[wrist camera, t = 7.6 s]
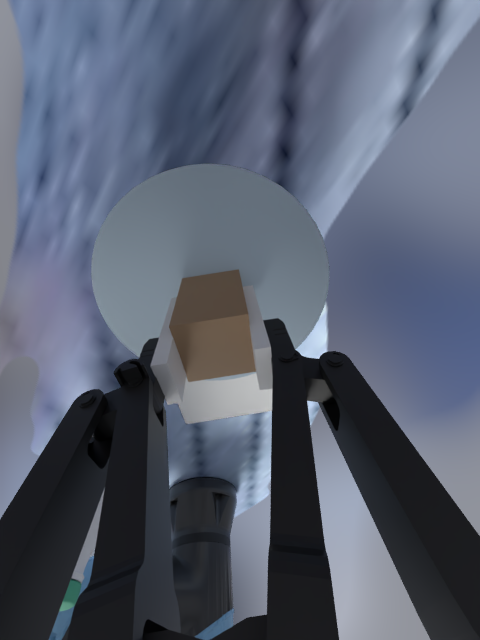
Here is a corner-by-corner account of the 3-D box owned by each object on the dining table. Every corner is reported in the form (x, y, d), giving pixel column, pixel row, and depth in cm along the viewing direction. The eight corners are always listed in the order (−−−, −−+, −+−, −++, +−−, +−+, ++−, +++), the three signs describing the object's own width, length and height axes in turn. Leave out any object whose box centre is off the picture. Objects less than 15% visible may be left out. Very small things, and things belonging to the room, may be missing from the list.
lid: (319, 357, 24) (353, 421, 18) (144, 385, 24) (121, 458, 18) (331, 142, 15) (408, 130, 9) (46, 187, 15) (-64, 206, 9)
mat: (292, 404, 42) (293, 407, 41) (186, 421, 42) (186, 424, 41) (290, 313, 32) (291, 316, 32) (151, 335, 32) (150, 338, 32)
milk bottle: (133, 405, 39) (71, 592, 22) (147, 435, 43) (103, 611, 26) (83, 411, 39) (-18, 605, 22) (101, 440, 43) (28, 621, 26)
